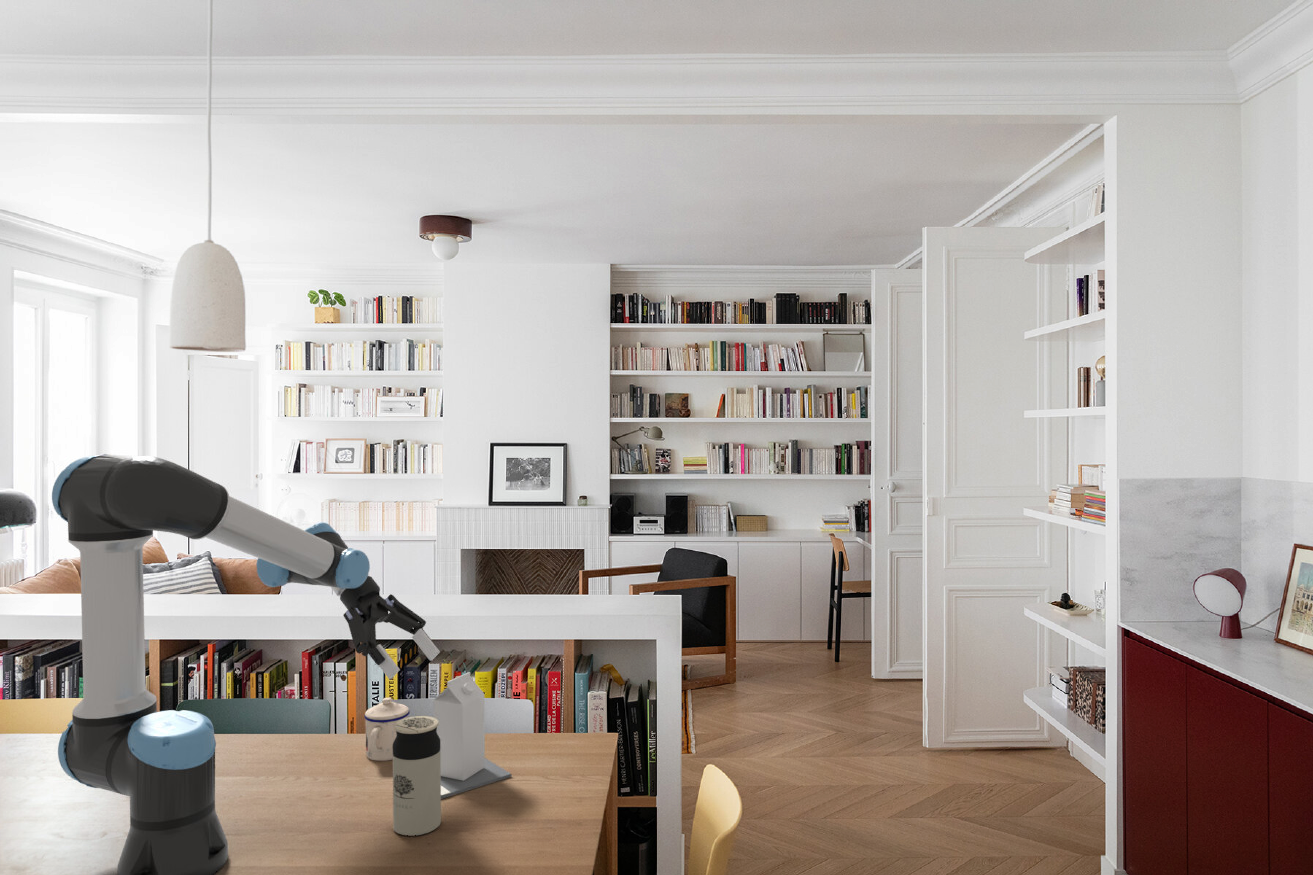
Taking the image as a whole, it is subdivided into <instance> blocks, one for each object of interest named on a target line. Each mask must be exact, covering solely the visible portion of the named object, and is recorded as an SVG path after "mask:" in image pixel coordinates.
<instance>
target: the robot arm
mask: <svg viewBox="0 0 1313 875" xmlns="http://www.w3.org/2000/svg"><path fill="white" fill-rule="evenodd" d="M51 502H52V506H53V508H54V511H55V512H56V514H57V515H58V516H59V517H60V519H62V521H63V520H64V522H67V532H68V533H67V534H68V538H67V539H68V540H67V541H68V543H70V544H71V545H72V546H73V547H74V548H76V549H77V550H78V551H79V555H80V556H79V558H80V559H79V560H80V595H81V596H80V599H81V602H80V603H81V642H82V643H81V644H82V645H81V647H82V650H81V651H82V685H83V686H82V687H83V688H82V689H83V691H82V692H83V693H82V694H83V695H82V696H83V698H82V700H81V701H79V703H77V705H75V706H74V707H73V709H72V712H71V714H72V719H71V720H70V721H69V722H68V724H67V727H66V729H65V730H63V732H62V733H61V735H60V737H59V739H58V740H59V742H58V745H57V746H58V747H57V757H58V762H59V764H60V766H61V768H62V770H63V771H64V773H65V774H66V775H67V776H68V777H70V778H71V779H73V780H75V781H77V782H78V783H80V784H83V785H85V786H86V787H90V788H95V789H101V790H105V791H109V792H112V793H115V794H119V795H122V796H127V797H129V814H130V816H129V817H130V821H129V826H130V827H129V831H128V834H127V836H126V840H125V842H124V846H123V848H122V852H121V854H120V857H119V860H118V862H117V867H116V868H117V870H116V872H117V875H214V874H215V873H217V872H218V871H219V870H221V869H222V868H223V866H224V865H225V864H226V863H227V860H228V858H229V844H228V839H227V836H226V834H225V832H224V829H223V826H222V824H221V821H220V819H219V817H218V814H217V810H216V745H217V742H216V737H215V730H214V729H215V728H214V725H213V723H212V721H211V719H209V717H207V716H206V715H204V714H202V713H201V712H196V711H193V710H186V709H185V710H184V709H182V710H179V711H178V710H177V711H176V710H174V709H171V710H170V709H169V710H168V709H167V710H161V711H157V710H158V709H157V708H158V707H157V706H158V705H157V704H158V703H157V696H156V695H155V694H154V693H152V692H151V691H149V690H148V689H147V687H146V651H145V650H146V648H145V643H146V642H145V641H146V640H145V637H146V636H145V603H144V602H145V601H144V598H145V597H144V595H145V594H144V555H143V554H144V553H143V550H144V548H143V547H144V545H145V544H146V543H147V542H148V541H149V540H150V539H152V537H153V536H154V531H155V532H163V533H169V534H170V533H171V534H176V535H180V536H183V537H186V538H188V539H191V540H202V539H205V538H206V539H209V540H212V541H214V542H217V543H218V544H219V543H220V544H222V545H225V546H227V547H230V548H232V549H235V550H237V551H240V552H242V553H244V554H247V555H250V556H252V557H255V558H257V560H256V573H257V576H258V578H259V580H260V581H261V582H262V584H264V585H265V586H267V587H269V588H277V587H280V586H281V587H283V586H285V585H287V584H291V583H292V584H301V585H302V584H303V585H310V586H311V585H312V586H322V587H323V586H324V587H330V588H331V589H332V590H333V592H334V593H335V595H336V596H338V597H339V600H340V601H341V603H342V604H343V605H344V607H345V608H346V609H347V610H346V611H345V612H344V613H343V618H344V619H345V621H346V622H347V625H348V628H349V631H350V635H351V637H352V638H351V639H352V642H353V646H354V649H355V652H356V653H357V654H360V655H362V656H363V657H367V656H368V655H369V656H370V658H371V660H373V662H374V663H375V665H377V666H378V667H379V668H380V669H381V670H382V672H383V673H384V674H385V676H386V677H387V679H388V680H392V679H394V676H396V675H397V674H398V672H399V671H401V669H400V667H399V666H398V665H397V664H396V663H395V661H394V660H393V659H392V657H391V656H390V655H389V653H388V652H387V651H386V649H385V648H384V647H383V646H382V644H381V643H380V644H377V634H376V633H377V631H376V630H377V629H376V625H377V624H378V623H379V624H380V623H382V622H383V623H386V624H387V623H389V624H391V625H394V626H396V627H397V628H398V629H399V628H400V629H401V630H403V631H405V632H407V633H409V634H412V636H411V638H412V639H413V641H414V642H415V643H416V644H417V646H418V648H420V649H421V651H422V653H423V654H424V655H425V656H426V658H427V659H428V660H429V661H430V662H431V661H433V660H434V659H435V658H436V657H437V656H438V654H439V655H440V653H441V651H440V649H439V648H438V647H437V646H436V645H435V643H434V642H433V641H432V640H431V638H430V636H429V634H428V633H427V632H426V631H425V630H424V627H425V626H426V624H427V621H426V620H425V619H423V618H422V617H421V616H420V615H419V614H417V613H415V612H414V611H413V610H411V609H410V608H409V607H407V606H406V605H404V604H403V603H402V602H400V601H399V600H398V599H397V598H396V596H394V594H389V595H388V596H387V597H386V598H383V597H382V596H381V595H380V590H381V586H379V585H378V584H377V581H375V580H374V578H373V577H372V576H370V574H369V573H370V569H371V568H370V559H369V557H368V555H367V554H366V553H365V552H364V551H362V550H360V549H354V548H351V547H350V548H349V546H348V545H347V544H346V542H345V541H344V540H343V538H342V536H341V535H340V534H339V532H336V530H335V529H334V528H333V526H331V525H330V523H328V522H317V523H314V525H312V526H309V527H308V528H306V529H305V530H304V529H302V528H299V527H297V526H295V525H293V524H290V523H288V522H287V521H284V520H283V519H280V518H278V517H276V516H274V515H271V514H269V513H268V512H265V511H263V510H260V509H258V508H257V507H254V506H252V505H250V504H248V503H245V502H243V501H242V500H239V499H237V498H236V497H235V498H234V497H232V496H230V494H229V491H228V489H227V488H226V487H225V486H224V485H221V484H219V483H217V482H215V481H213V480H210V479H209V478H207V477H205V476H203V475H201V474H199V473H197V472H195V471H193V470H191V469H188V468H186V467H184V466H181V465H179V464H177V463H175V462H173V461H169V460H167V459H164V458H161V457H156V456H149V455H140V456H139V455H118V454H106V453H104V454H99V455H90V456H89V455H88V456H84V457H81V458H79V459H76V460H75V461H72V462H71V463H70V464H69V465H67V466H65V468H64V469H63V470H62V471H61V472H60V473H59V475H57V478H56V479H55V481H54V483H53V486H52V491H51ZM216 871H217V872H216Z"/></svg>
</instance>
